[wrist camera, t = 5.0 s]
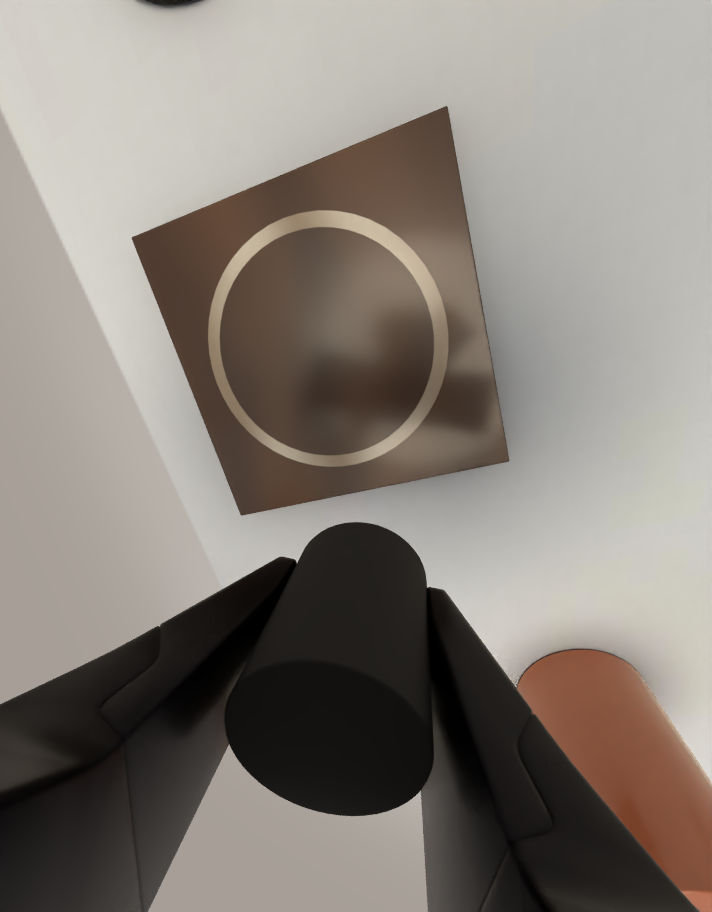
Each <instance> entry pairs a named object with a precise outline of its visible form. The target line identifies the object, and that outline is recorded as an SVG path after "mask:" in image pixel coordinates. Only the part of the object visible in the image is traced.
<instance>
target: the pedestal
mask: <svg viewBox="0 0 712 912" xmlns="http://www.w3.org/2000/svg"><path fill="white" fill-rule="evenodd" d="M517 690H518V691H519V693H520V694H521V695H522V697H523V698H524V699H525V701H526V702H527V703H528V705H529V706H530V708H531V709H532V711H533V713H532V714H536V715H537V717H538V718H539V720H540V721H541V722H542V724H543V725H544V726H545V728H546V729H547V730H548V732H549V733H550V734H551V736H552V737H553V738H554V740H555V741H556V742H557V744H558V745H559V746H560V747H561V749H562V750H563V751H564V753H565V754H566V755H567V757H568V758H569V759H570V761H571V762H572V763H573V764H574V765H575V767H576V768H577V769H578V770H579V771H580V773H581V774H582V775H583V776H584V778H585V779H586V780H587V781H588V782H589V784H590V785H591V786H592V787H593V788H594V790H595V791H596V792H597V793H598V794H599V796H600V797H601V798H602V799H603V800H604V802H605V803H606V804H607V805H608V806H609V807H610V809H611V810H612V811H613V812H614V813H615V814H616V816H617V817H618V818H619V819H620V820H621V821H622V823H623V824H624V825H625V826H626V827H627V828H628V830H629V831H630V832H631V833H632V834H633V835H634V837H635V838H636V839H637V840H638V841H639V843H640V844H641V845H642V846H643V847H644V848H645V850H646V851H647V852H648V853H649V854H650V855H651V857H652V858H653V859H654V860H655V861H656V862H657V864H658V865H659V866H660V867H661V868H662V869H663V871H664V872H665V873H666V874H667V875H668V876H669V878H670V879H671V880H672V881H673V882H674V884H675V885H676V886H677V887H678V888H679V889H680V890H681V891H682V893H683V894H684V895H685V896H686V897H687V898H688V899H689V900H690V901H691V903H692V904H693V905H694V906H695V907H696V908H697V909H698V910H699V911H700V912H712V782H711V781H710V779H709V778H708V776H707V775H706V773H705V772H704V770H703V769H702V767H701V766H700V764H699V763H698V761H697V760H696V758H695V756H694V755H693V753H692V752H691V750H690V749H689V747H688V746H687V744H686V743H685V741H684V740H683V738H682V737H681V735H680V734H679V732H678V731H677V729H676V728H675V726H674V725H673V723H672V722H671V720H670V719H669V717H668V716H667V714H666V713H665V711H664V710H663V708H662V707H661V705H660V704H659V702H658V701H657V699H656V698H655V696H654V695H653V693H652V692H651V690H650V689H649V687H648V686H647V684H646V683H645V681H644V679H643V678H642V676H641V675H640V674H639V673H638V672H637V670H636V669H635V668H633V667H632V666H631V665H630V664H628V663H627V662H625V661H624V660H622V659H620V658H618V657H616V656H614V655H611V654H608V653H604V652H600V651H595V650H583V649H580V650H568V651H562V652H558V653H554V654H552V655H549V656H546V657H544V658H542V659H540V660H539V661H537V662H536V663H534V664H533V665H532V666H531V667H529V668H528V669H527V670H526V672H525V673H524V674H523V676H522V677H521V679H520V681H519V683H518V686H517Z"/></svg>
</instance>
